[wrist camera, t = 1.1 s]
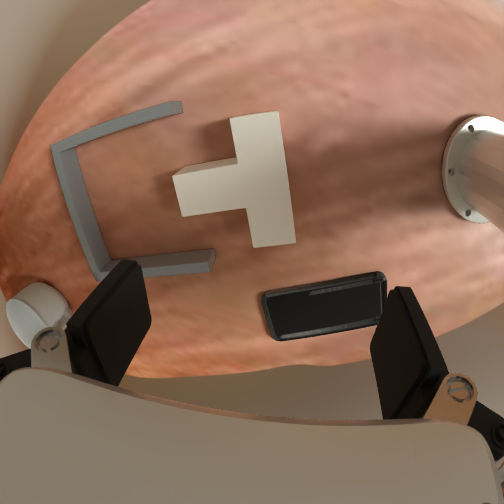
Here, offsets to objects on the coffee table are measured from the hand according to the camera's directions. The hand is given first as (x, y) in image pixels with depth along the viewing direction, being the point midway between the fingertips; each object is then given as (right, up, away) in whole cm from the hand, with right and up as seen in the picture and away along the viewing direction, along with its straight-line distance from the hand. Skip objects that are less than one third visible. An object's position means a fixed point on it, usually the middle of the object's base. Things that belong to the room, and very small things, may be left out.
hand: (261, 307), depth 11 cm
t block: (-2, +9, +19) cm, 21 cm away
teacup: (-31, -6, +30) cm, 44 cm away
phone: (+9, -4, +25) cm, 27 cm away
